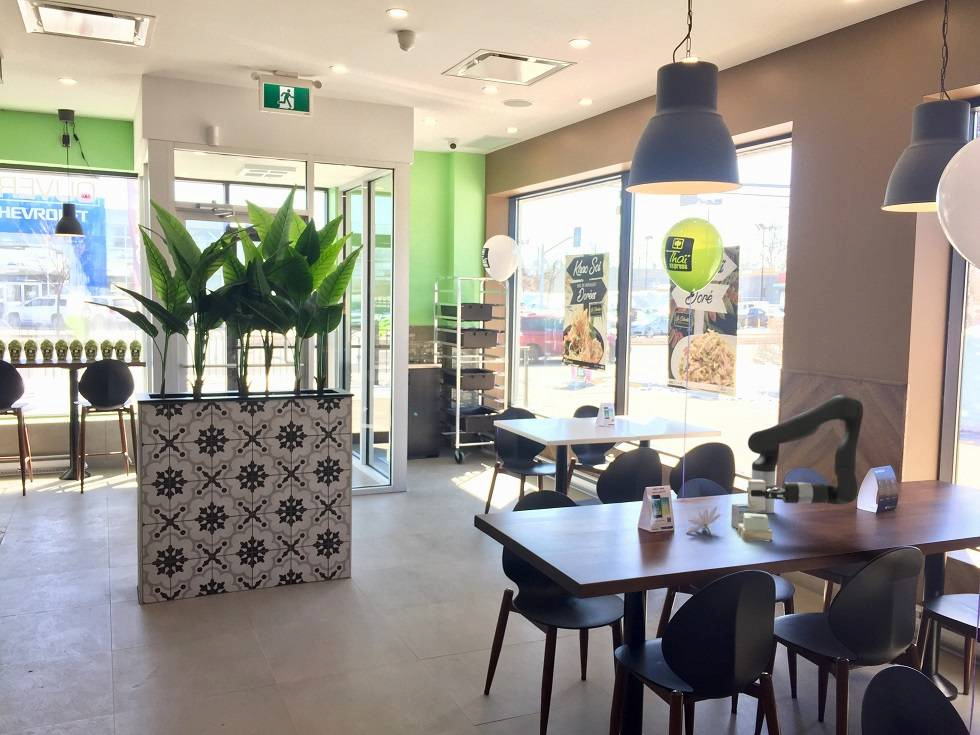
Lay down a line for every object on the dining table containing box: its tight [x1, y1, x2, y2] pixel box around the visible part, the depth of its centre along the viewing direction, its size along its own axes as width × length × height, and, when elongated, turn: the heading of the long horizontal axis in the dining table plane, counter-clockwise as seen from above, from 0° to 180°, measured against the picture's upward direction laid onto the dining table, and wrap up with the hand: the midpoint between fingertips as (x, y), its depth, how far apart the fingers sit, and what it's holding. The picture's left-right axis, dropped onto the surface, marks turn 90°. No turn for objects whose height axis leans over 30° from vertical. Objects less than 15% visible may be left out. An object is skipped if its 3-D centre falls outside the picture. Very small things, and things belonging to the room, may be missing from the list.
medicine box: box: [730, 503, 757, 529], centre depth 317 cm, size 8×4×9 cm, turn 105°
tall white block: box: [747, 479, 766, 510], centre depth 302 cm, size 5×5×10 cm
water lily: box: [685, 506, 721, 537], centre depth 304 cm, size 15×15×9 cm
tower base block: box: [737, 524, 774, 541], centre depth 302 cm, size 10×10×4 cm
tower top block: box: [743, 513, 769, 531], centre depth 302 cm, size 8×8×4 cm
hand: (749, 491), depth 302 cm, fingers closed on tall white block, 5 cm apart
